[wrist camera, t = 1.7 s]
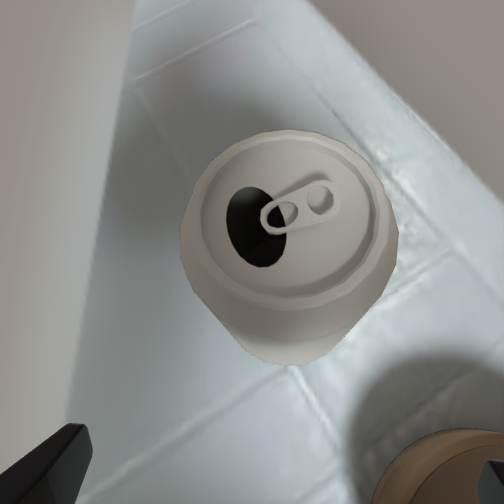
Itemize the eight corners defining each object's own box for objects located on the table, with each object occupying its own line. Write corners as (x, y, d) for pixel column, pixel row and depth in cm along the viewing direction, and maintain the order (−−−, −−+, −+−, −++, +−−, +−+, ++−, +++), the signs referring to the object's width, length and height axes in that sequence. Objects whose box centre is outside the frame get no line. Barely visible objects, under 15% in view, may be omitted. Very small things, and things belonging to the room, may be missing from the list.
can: (212, 262, 24) (147, 142, 13) (326, 230, 24) (360, 84, 13) (241, 383, 21) (190, 365, 10) (370, 347, 21) (461, 289, 10)
